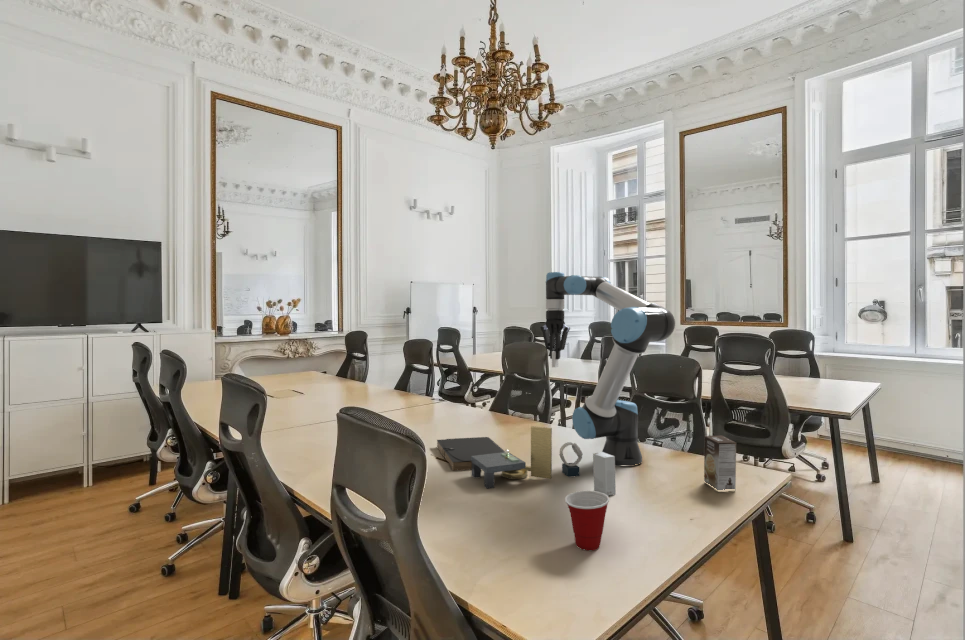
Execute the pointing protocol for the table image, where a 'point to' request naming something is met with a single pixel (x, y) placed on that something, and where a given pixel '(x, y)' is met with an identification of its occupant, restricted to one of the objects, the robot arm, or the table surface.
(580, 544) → the plastic cup
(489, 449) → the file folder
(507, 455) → the levelling stand
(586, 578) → the table surface
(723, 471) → the coffee box
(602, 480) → the skincare box
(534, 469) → the brass panel with base
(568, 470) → the watch
